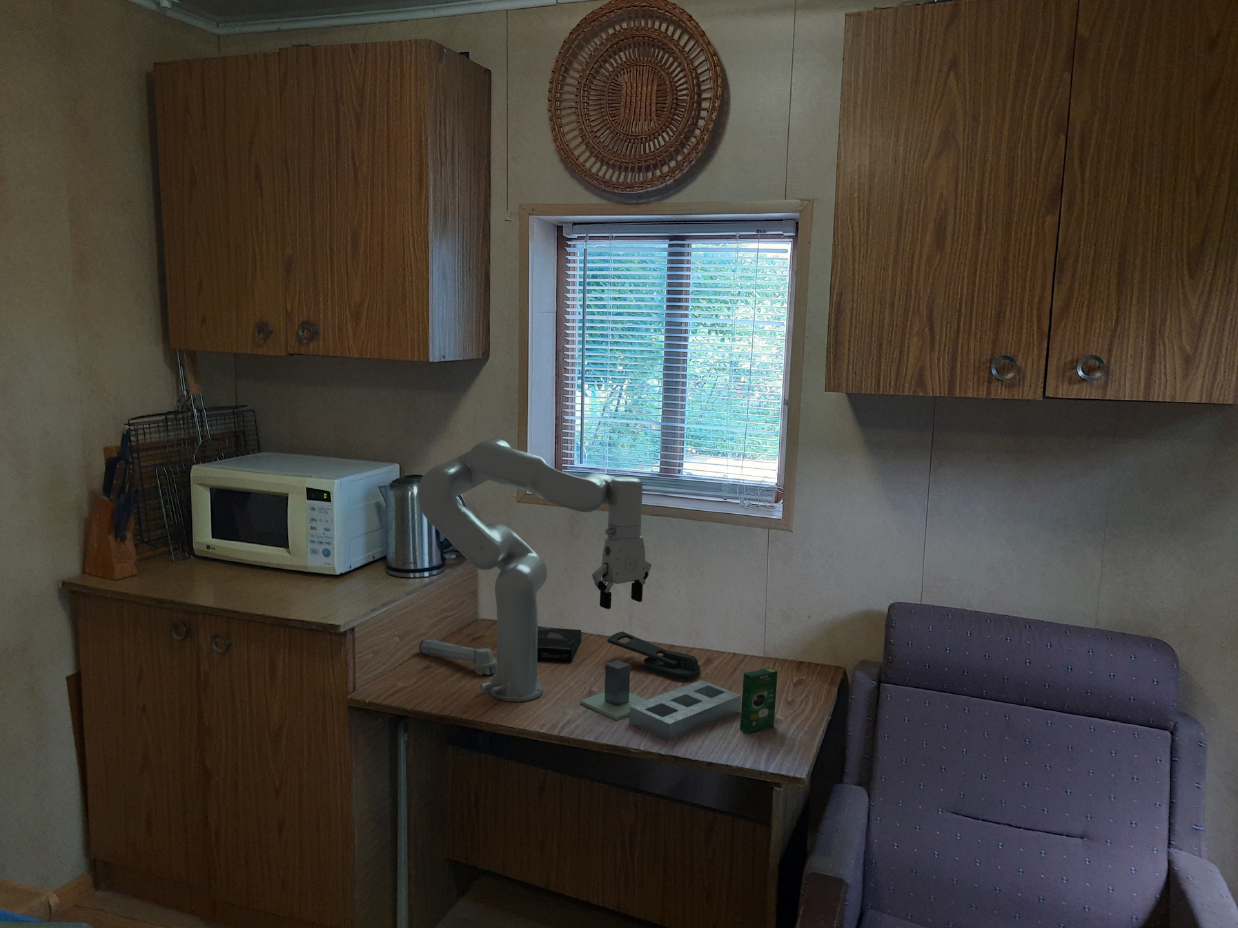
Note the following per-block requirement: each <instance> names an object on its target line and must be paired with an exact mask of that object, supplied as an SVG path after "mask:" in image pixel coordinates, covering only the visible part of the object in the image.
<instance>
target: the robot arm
mask: <svg viewBox="0 0 1238 928" xmlns="http://www.w3.org/2000/svg"><path fill="white" fill-rule="evenodd" d="M487 481H491V482H494V483H498V484H501V485H505V486H509V487H513V488H514V489H519V490H521V491H526V492H528V493H530V494H532V495H533V496H535V497H538V498H540V499H542V500H544V501H546V502H548V503H550V504H553V505H556V506H559V507H561V508H562V507H564V508H565V509H570V510H573V511H577V512H580V513H592V512H594V511H597V510H598V509H599V508H601V507H602V506H604V505H608V513H607V514H608V515H607V517H608V519H607V528H606V529H605V532H604V533H605V535H607V536H606V538H605V540H604V545H603V550H602V556H601V557H602V558H601V566H600V567H599V568H597V569H596V570H595V571H594V572H593V573H592V574H591V577H592V580H593V581H594V585H595V586H596V588H597V589H598V590H599V606H600V608H603V609H606V610H611V609H612V591H611V589H612V588H613V586H614V584H615V585H620V584H625V583H629V582H631V589H630V599H631V600H632V601H635V602H639V603H641V602H643V595H644V594H643V590H644V586H645V584H646V580H647V579H648V577H649V573H650V571H651V568H652V564H651V563H650V562H648V561H646V548H645V542H644V537H643V536H642V535H641V533H642V532H641V531H642V511H643V510H642V508H643V489H644V488H643V482H642V480H641V479H639V478H637V477H634V476H633V477H632V476H613V475H607V474H604V473H600V472H599V473H598V472H592V473H589V474H586V475H585V476H583V477H581V476H577V475H574V474H569V473H566V472H563V471H560V470H557V468H554V467H552V466H550V465H549V464H548V462H546V461H545V459H544V458H543V457H541V456H539V455H537V454H533V453H529V452H526V451H522V450H519V449H515V448H512V446H511V445H510V444H509V443H508V442H507V441H505V440H503V439H501V438H489V439H485V440H483V441H480V442H478V443H476V444H475V445H474V446H473V447H472V448H471V449H470V450H468V451H466V452H465V453H462V454H460V455H459V456H457V457H455V458H452V459H451V460H448V461H446V462H443V463H440V464H437V465H435V466H433V467H431V468H430V469H428V470H427V471H426V472H425V473H424V474H423V476H422V477H421V479H420V482H419V485H418V489H417V501H418V506H419V509H420V510H421V512H422V514H423V516H424V518H425V519H426V520H427V521H428V522H429V523H430V524H431V525H432V526H433V527H434V528H435V529H436V530H437V531H438V532H440V533H441V534H442V535H443V536H444V538H446V539H447V540H448V541H449V542H450V544H451V545H452V546H453V547H454V548H455V549H457V551H458V552H459V553H460V554H462V556H463V557H464V558H466V559H467V561H469V562H470V564H471V565H473V566H474V567H476V568H477V569H479V570H482V571H489V570H492V569H495V568H497V569H499V570H500V571H499V573H498V575H497V577H496V580H495V584H494V585H495V586H494V595H495V596H494V597H495V603H496V622H497V623H496V630H497V631H496V632H497V633H496V661H497V664H496V673H494V674H493V675H492V679H490V680H489V681H488V682H484V683H481V684H479V691H480V692H481V693H484V692H488V691H489V693H490V694H491V696H492V697H493V698H495V699H497V700H501V701H506V702H527V701H532V700H534V699H537V698H539V697H540V696H541V695H542V694H543V693H544V686H543V684H542V682H541V681H538V661H537V645H538V627H539V626H538V625H539V624H538V623H539V622H538V621H539V620H538V619H539V618H538V605H537V594H538V593H537V592H539V591H540V590H541V588H542V587H543V585H544V584H545V583H546V580H547V577H548V569H547V566H546V564H545V562H544V560H543V559H542V558H541V556H540V555H539V554H538V553H537V552H536V551H535V550H534V549H532V547H531V546H530V545H528V543H526V542H525V540H523V539H522V538H521V537H520V536H519V535H518V534H517V533H516V532H515V531H514V530H513V529H512V528H510V527H509V526H507V525H505V524H502V523H499V522H493V523H492V522H491V523H487V524H485V523H484V522H483V521H482V520H480V519H479V518H478V517H477V515H475V513H474V512H473V511H471V510H470V509H469V508H467V507H466V506H464V505H462V504H461V502H459V500H457V497H459V496H460V495H462V494H465V493H467V492H468V491H470V490H472V489H474V488H476V487H477V486H479V485H481V484H484V483H485V482H487Z"/></svg>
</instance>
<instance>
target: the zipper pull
mask: <svg viewBox="0 0 1238 928" xmlns="http://www.w3.org/2000/svg"><path fill="white" fill-rule="evenodd" d="M625 638H626V639H628V641H626V642H621V641H620V640H622V639H625ZM606 642H607V643H608V644H612V645H614V646H617V647H620V648H623V649H626V650H628V651H631V652H634V653H637V654H640V655H643V656H646V658H644V659H643V672H646V673H650V674H654V675H656V676H659V677H663V678H666V679H670V680H673V681H676V682H685V683H686V682H691V681H695V680H697V679H698V678H699V677H700V674H701V664H699V662H698V658H697V657H695V655H691V654H688V653H683V652H680V651H674V650H667V649H665V648H662V647H660V646H658V645H656V644H653V643H651V642H648V641H646V640H643V639H642V638H639V637H636V636H635V635H632V634H629V633H627V632H625V631H623V630H622V631H618V632H617V633H613V634H612V635H610V636H609V637H608V638H607V640H606ZM660 654H662V655H660Z"/></svg>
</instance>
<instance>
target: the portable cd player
mask: <svg viewBox="0 0 1238 928" xmlns="http://www.w3.org/2000/svg"><path fill="white" fill-rule="evenodd" d="M581 644H582V629H576V628H575V629H573V628H560V627H559V628H557V627H541V626H538V645H537V662H538V661H539V662H548V663H551V662H553V663H565V664H566V663H567V664H572V663H573V661H574V658H575V656H576V654H577V652H578V649H579V647H580V645H581Z"/></svg>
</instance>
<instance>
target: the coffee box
mask: <svg viewBox="0 0 1238 928" xmlns="http://www.w3.org/2000/svg"><path fill="white" fill-rule="evenodd" d="M778 674H779V673H778V670H776V669H774V668H771V667H766V668H762V669H758V670H752V671H747V672H743V680H742V681H743V682H742V695H741V706H740V723H739V724H740V725H739V726H740V727H739V729H740V731H741V732H743V733H745V734H750V733H755V732H757V731H761V730H765V729H769V728H771V727H774V726H775V712H776V700H777V687H778V685H777V684H778Z"/></svg>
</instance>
